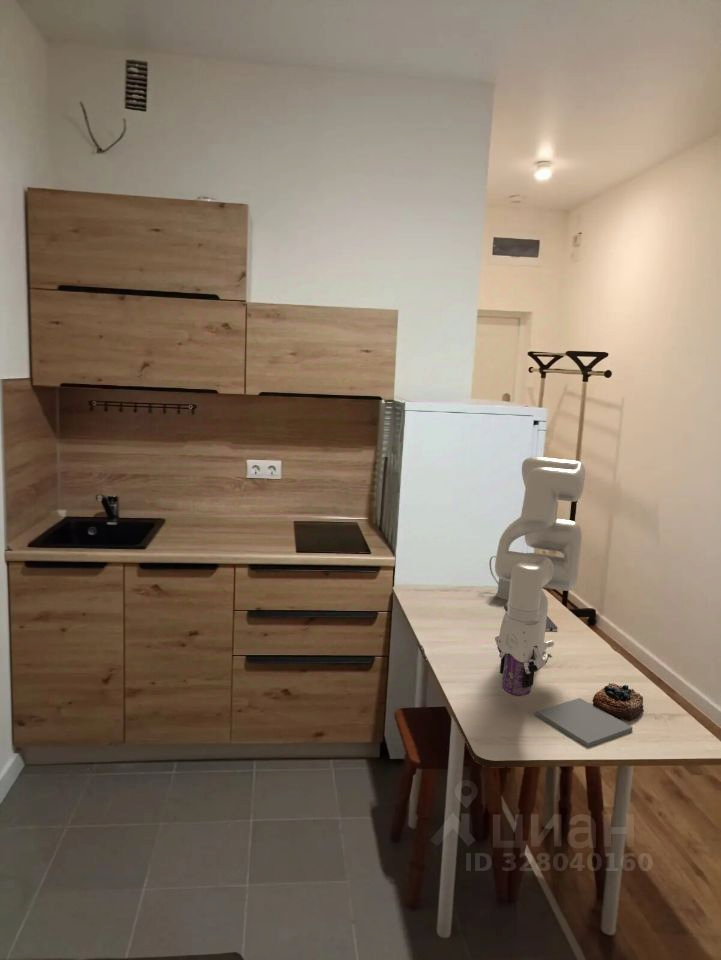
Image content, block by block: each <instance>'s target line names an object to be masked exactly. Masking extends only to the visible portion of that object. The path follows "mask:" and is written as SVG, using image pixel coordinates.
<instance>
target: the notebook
mask: <svg viewBox="0 0 721 960" xmlns="http://www.w3.org/2000/svg"><path fill="white" fill-rule="evenodd" d="M503 605H504V606H503V608H504V609H505V611H506V610H507V611H508V606H507V604H503ZM507 611H506V612H507ZM558 629H559V627H558V626H557V624H555V623H554V622H553V621H552V620H551V618H550V617H549V616H548V615H547V620H546V629H545V632H558Z"/></svg>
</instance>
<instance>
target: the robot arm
mask: <svg viewBox="0 0 721 960" xmlns="http://www.w3.org/2000/svg"><path fill="white" fill-rule="evenodd" d="M521 476H522V481H523V483H524V487H525V488H524V489H525V491H524V497H523V500H522V508H521V514H520V517H519V516H518V518H517V519H516V520H514V521H512V522H511V523H510V524H509V525H508V526H507V527H506V528H505V529H504V531H503V533H502V534H501V535H500V538H499V541H498V546H497V551H496V558H495V562H494V563H495V564H494V572H495V575H496V577H497V578H498V579H499V578H500V579H503V580H507V581H510V590H509V600H507V602H506V605H507V606H508V611H506V612H505V613H504V615H503V618H502V621H501V626H500V628H499V629H500V630H499V634H498V636H495V637H494V641H495V643H496V645H497V650H498V652H499V658H500V668H499V673H500V675H503V671H504V661H505V654H508V653H509V654H511V655H512V656H513V657H514V658H515V659H516V660H517V661H519V662H521V663H524V667H525V671H526V672H524V673H523V681H522V687H523V688H527V687H530V686H531V687H533V685H534V678H535V673H537V672H538V671H539V670H540V669H541V668H543V667H544V666H545V665H546V662H547V661H548V657H549V655H548V653H547V652H546V650H547V649H548V648H553V647H554V646H555V643H554V641H553V640H552V639H551V640H546V641H545V639H546V638H545V635H546V631H545V629H546V620H547V616H548V610H549V601H548V600H549V599H548V596H547V594H546V593H545V592H544V590H543V589H552V590H558V591H566V592H568V591H572V590H574V589H575V587H576V585H577V581H578V575H579V568H580V567H579V565H580V557H581V550H582V549H581V548H582V528H581V526H580V524H579V523H578V522H576V521H575V520H570V519H561V518H558V511H559V509H558V508H559V501H563V502H578V501H579V499H580V498H582V495H583V492H584V487H585V486H584V485H585V480H586V479H585V478H586V468H585V465H584V464H583V462H581V461H579V460H573V459H572V460H571V459H561V458H555V457H554V458H552V457H543V456H531V457H528V458H525V459H524V460H523V461H522V464H521ZM523 536H524V542H525V545H526V546H528V547H529V548H533V549H538V550H544V551H550V552H558V553H561V554H562V555H563V557H562V556H557V555H551V554H550V555H549V554H544V553H537V552H518V551H514V550H512V551H511V550H510V547H511V545H512V543H514V541H516V540H518V539H519V538H521V537H523ZM531 657H532V659H531ZM529 662H531V667H529Z"/></svg>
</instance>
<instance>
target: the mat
mask: <svg viewBox="0 0 721 960" xmlns="http://www.w3.org/2000/svg"><path fill="white" fill-rule="evenodd" d="M535 716H537V717H539V718H540V719H542V720H543V721H545V722H546V723H548V724H550V725H551V726H553V727H555V728H556V729H558V730H559V731H561V732H563V733H564V734H566V735H567V736H569V737H571V738H572V739H574V740H576V742H579V743H580V744H582V745H583V746H585V747H587V748H589V747H591V746H594V745H595V746H596V745H597V744H600V743H603V742H605V741H608V740H611V739H613V738H617V737H620V736H622V735H625V734H628V733H630V732H633V729H634V727H633V726H631V725H630V724H627V723H626V722H624V721H623V720H622V719H619V718H615V717H613V716H612V715H610V714H608V713H606V712H604V711H603V710H601V709H599V708H597V707H595V706H594V705H593V703H592V704H591V702H588V701H586V700H585V699H582V698H581V697H578V698H575V699H571V700H568V701H566V702H562V703H559V704H555V705H551V706H548V707H545V708H541V709H538V710H536V711H535Z"/></svg>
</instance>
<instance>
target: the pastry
mask: <svg viewBox="0 0 721 960" xmlns="http://www.w3.org/2000/svg"><path fill="white" fill-rule="evenodd" d="M643 700H644V697H643V695H641V694H640V693H639V692H637V691H635V689H634V688H629V685H628V684H627V685H626V684H624V685H623V686H622V685H619V684H616V683H612V682H611V683H608V684H607V685H605V686H604V687H602V688H601V689H600V690H599V691H597V692H596V693H594V695H593V699H592V700H591V701H592V705H594V706H595V707H597V708H599V709H601V710H603V711H604V712H606V713H608V714H610V715H612V716H613V717H616V718H617V719H619V720H623V719H624V720H623V721H627V722H631V721H633V720H634V719H636V718H637V717H638V716H639V715H640V714H641V713H643V712H645V711H644V701H643ZM642 711H643V712H642Z"/></svg>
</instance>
